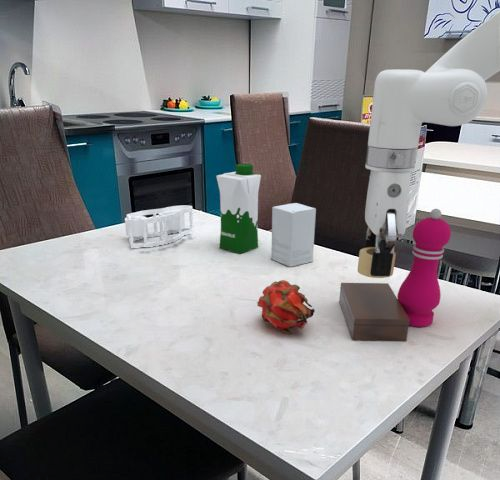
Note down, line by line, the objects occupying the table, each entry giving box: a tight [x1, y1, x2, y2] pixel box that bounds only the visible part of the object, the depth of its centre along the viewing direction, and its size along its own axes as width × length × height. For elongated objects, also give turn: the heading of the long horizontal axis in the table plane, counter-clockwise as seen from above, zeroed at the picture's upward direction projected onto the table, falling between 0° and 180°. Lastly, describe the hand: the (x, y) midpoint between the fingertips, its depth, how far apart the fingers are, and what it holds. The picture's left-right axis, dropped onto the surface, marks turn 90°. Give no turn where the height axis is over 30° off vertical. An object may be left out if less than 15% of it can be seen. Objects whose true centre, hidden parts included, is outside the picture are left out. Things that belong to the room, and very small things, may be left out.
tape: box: [357, 247, 397, 279], centre depth 86 cm, size 6×6×4 cm
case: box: [338, 282, 410, 342], centre depth 90 cm, size 9×16×4 cm, turn 179°
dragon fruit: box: [256, 279, 316, 334], centre depth 87 cm, size 8×8×12 cm
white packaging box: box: [270, 202, 317, 268], centre depth 117 cm, size 7×7×13 cm
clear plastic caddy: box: [124, 204, 194, 249], centre depth 133 cm, size 20×11×7 cm, turn 126°
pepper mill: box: [396, 208, 452, 328], centre depth 87 cm, size 7×7×20 cm
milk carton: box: [215, 163, 262, 255], centre depth 123 cm, size 9×9×20 cm
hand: (376, 267), depth 87 cm, fingers closed on tape, 6 cm apart
